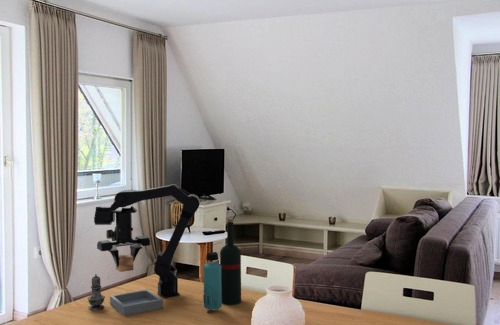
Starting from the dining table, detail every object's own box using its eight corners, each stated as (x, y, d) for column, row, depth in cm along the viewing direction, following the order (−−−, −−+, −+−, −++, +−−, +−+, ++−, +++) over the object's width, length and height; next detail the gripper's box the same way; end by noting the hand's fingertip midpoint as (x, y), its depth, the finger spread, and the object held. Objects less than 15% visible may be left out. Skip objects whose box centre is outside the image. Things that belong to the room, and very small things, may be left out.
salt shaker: (100, 311, 180) (99, 276, 179) (84, 310, 181) (83, 275, 180) (108, 305, 185) (107, 271, 185) (92, 304, 187) (92, 271, 186)
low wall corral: (147, 297, 194) (147, 289, 194) (162, 308, 183) (162, 299, 183) (110, 304, 187) (109, 295, 187) (123, 315, 175) (123, 306, 175)
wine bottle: (244, 296, 195) (244, 216, 193) (239, 305, 185) (238, 220, 183) (223, 295, 197) (223, 215, 195) (217, 304, 187) (216, 220, 185)
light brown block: (128, 267, 200) (128, 254, 200) (133, 270, 196) (133, 256, 195) (115, 269, 197) (115, 255, 197) (120, 272, 193) (120, 258, 193)
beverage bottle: (225, 308, 182) (224, 251, 181) (217, 315, 176) (217, 255, 174) (207, 306, 184) (207, 250, 183) (199, 313, 178) (199, 254, 177)
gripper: (139, 219, 207) (140, 258, 208) (92, 223, 197) (93, 265, 198) (150, 223, 198) (151, 264, 199) (101, 228, 188) (102, 271, 189)
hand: (124, 266), depth 196 cm, fingers closed on light brown block, 5 cm apart
